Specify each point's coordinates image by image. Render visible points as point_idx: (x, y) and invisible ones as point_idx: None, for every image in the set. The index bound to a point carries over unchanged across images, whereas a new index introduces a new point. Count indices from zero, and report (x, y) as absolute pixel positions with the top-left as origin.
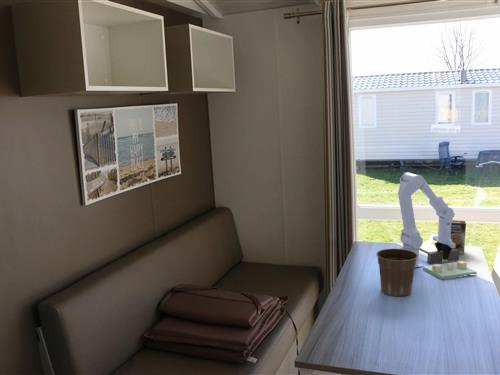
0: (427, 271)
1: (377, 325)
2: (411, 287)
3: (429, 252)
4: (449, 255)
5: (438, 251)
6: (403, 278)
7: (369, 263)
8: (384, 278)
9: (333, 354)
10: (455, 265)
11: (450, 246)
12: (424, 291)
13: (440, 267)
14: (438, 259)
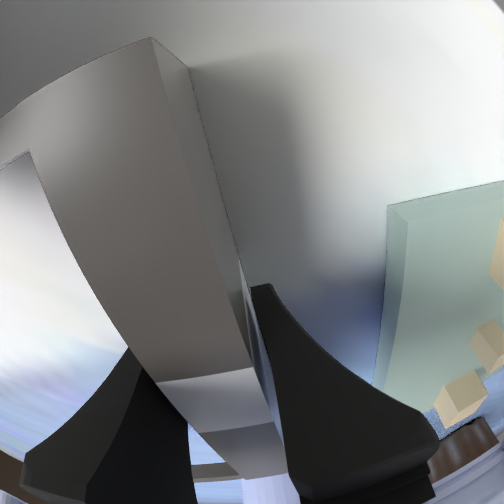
0: None
1: (499, 424)
2: (489, 427)
3: (256, 475)
4: (236, 276)
5: (227, 440)
6: None
7: (231, 496)
8: None
9: (497, 434)
10: (469, 271)
11: (463, 475)
12: (495, 396)
13: (481, 393)
14: (269, 372)
